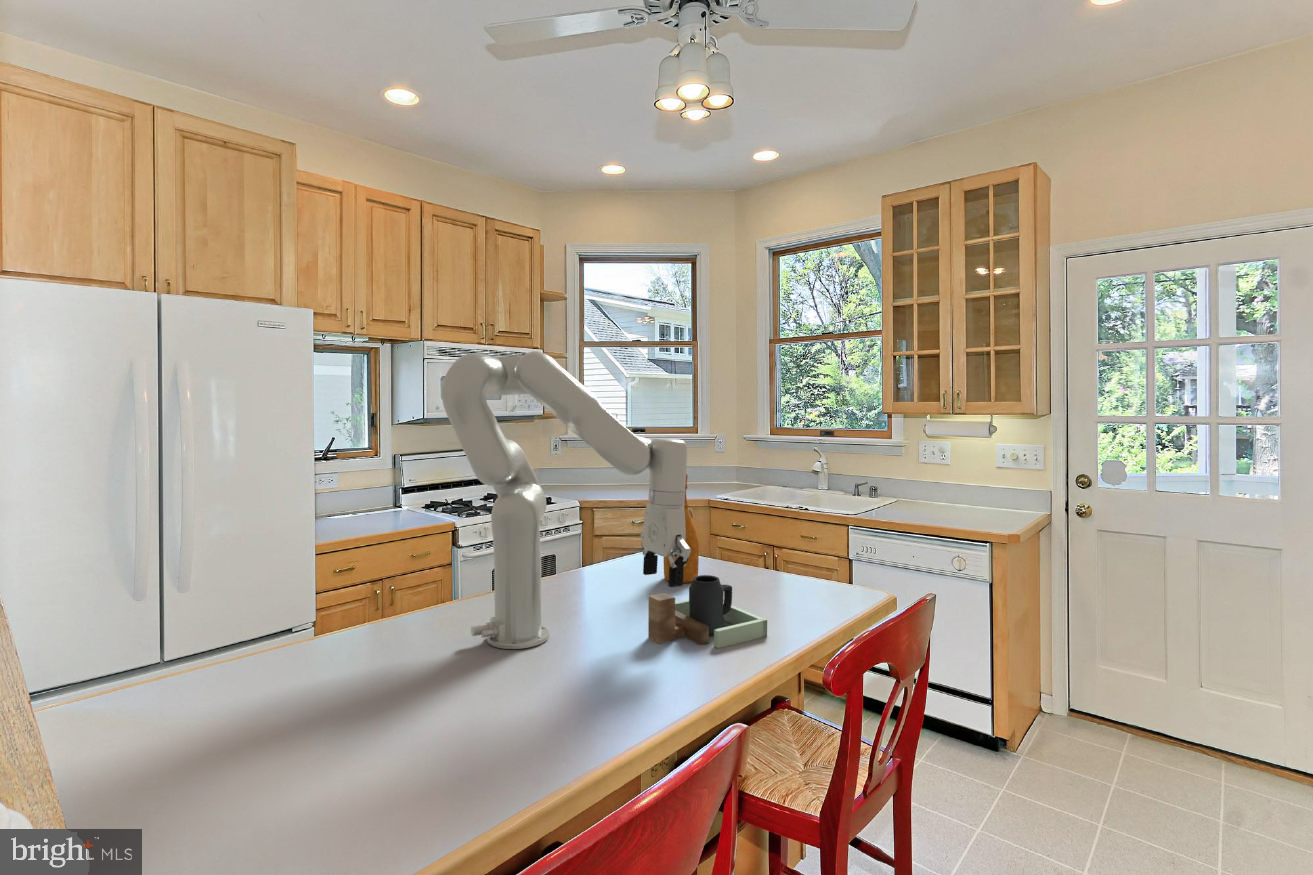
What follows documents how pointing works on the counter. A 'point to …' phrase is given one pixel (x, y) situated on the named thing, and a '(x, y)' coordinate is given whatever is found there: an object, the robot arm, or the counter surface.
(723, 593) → the mug
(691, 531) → the wine bottle
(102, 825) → the counter surface
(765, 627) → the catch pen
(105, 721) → the counter surface
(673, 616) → the wooden cross block
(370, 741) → the counter surface
